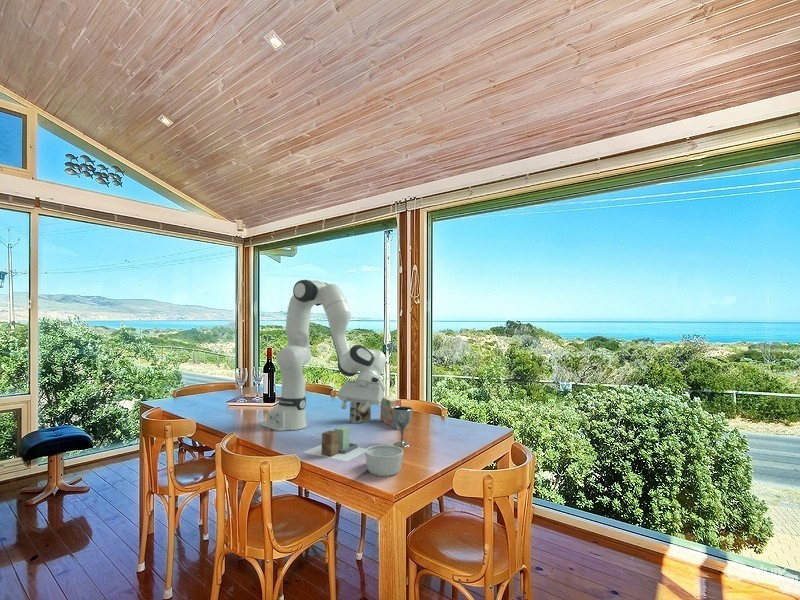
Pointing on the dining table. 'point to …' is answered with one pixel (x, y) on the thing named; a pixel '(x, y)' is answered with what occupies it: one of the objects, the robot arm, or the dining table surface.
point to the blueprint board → (340, 452)
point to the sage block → (343, 437)
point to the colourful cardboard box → (389, 410)
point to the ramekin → (383, 459)
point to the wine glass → (402, 421)
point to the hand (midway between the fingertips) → (352, 409)
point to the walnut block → (330, 443)
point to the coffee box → (359, 412)
